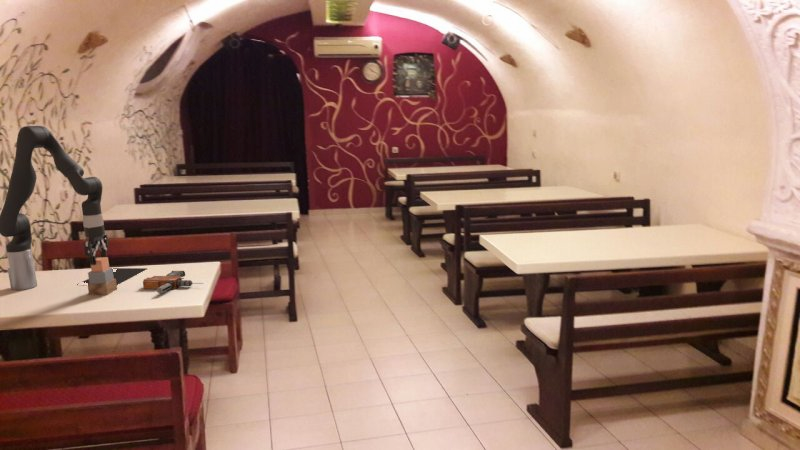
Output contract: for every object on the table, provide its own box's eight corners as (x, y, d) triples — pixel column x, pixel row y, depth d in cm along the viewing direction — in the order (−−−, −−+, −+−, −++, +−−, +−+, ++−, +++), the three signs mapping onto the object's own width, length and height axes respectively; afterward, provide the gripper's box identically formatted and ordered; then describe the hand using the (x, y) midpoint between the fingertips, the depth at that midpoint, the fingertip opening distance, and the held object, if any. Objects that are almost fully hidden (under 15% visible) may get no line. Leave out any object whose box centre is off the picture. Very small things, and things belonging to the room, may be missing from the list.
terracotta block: (91, 271, 249) (89, 260, 248) (98, 268, 254) (96, 257, 253) (102, 271, 248) (101, 260, 247) (109, 268, 253) (107, 257, 252)
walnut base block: (89, 295, 249) (87, 284, 248) (99, 289, 257) (97, 278, 256) (107, 295, 249) (105, 284, 248) (117, 289, 256) (115, 278, 255)
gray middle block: (89, 284, 248) (87, 272, 247) (97, 279, 255) (96, 268, 254) (106, 283, 248) (104, 272, 247) (113, 278, 255) (112, 267, 254)
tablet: (110, 268, 290) (148, 268, 287) (110, 269, 290) (148, 269, 288) (74, 285, 264) (115, 285, 261) (74, 286, 264) (116, 287, 261)
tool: (165, 269, 275) (128, 285, 246) (220, 269, 271) (188, 286, 242) (166, 277, 276) (129, 295, 246) (220, 277, 272) (189, 295, 243)
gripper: (94, 221, 254) (99, 257, 257) (75, 228, 240) (80, 266, 243) (111, 221, 253) (116, 257, 257) (93, 228, 239) (98, 266, 243)
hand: (98, 262), depth 250 cm, fingers open, 8 cm apart
